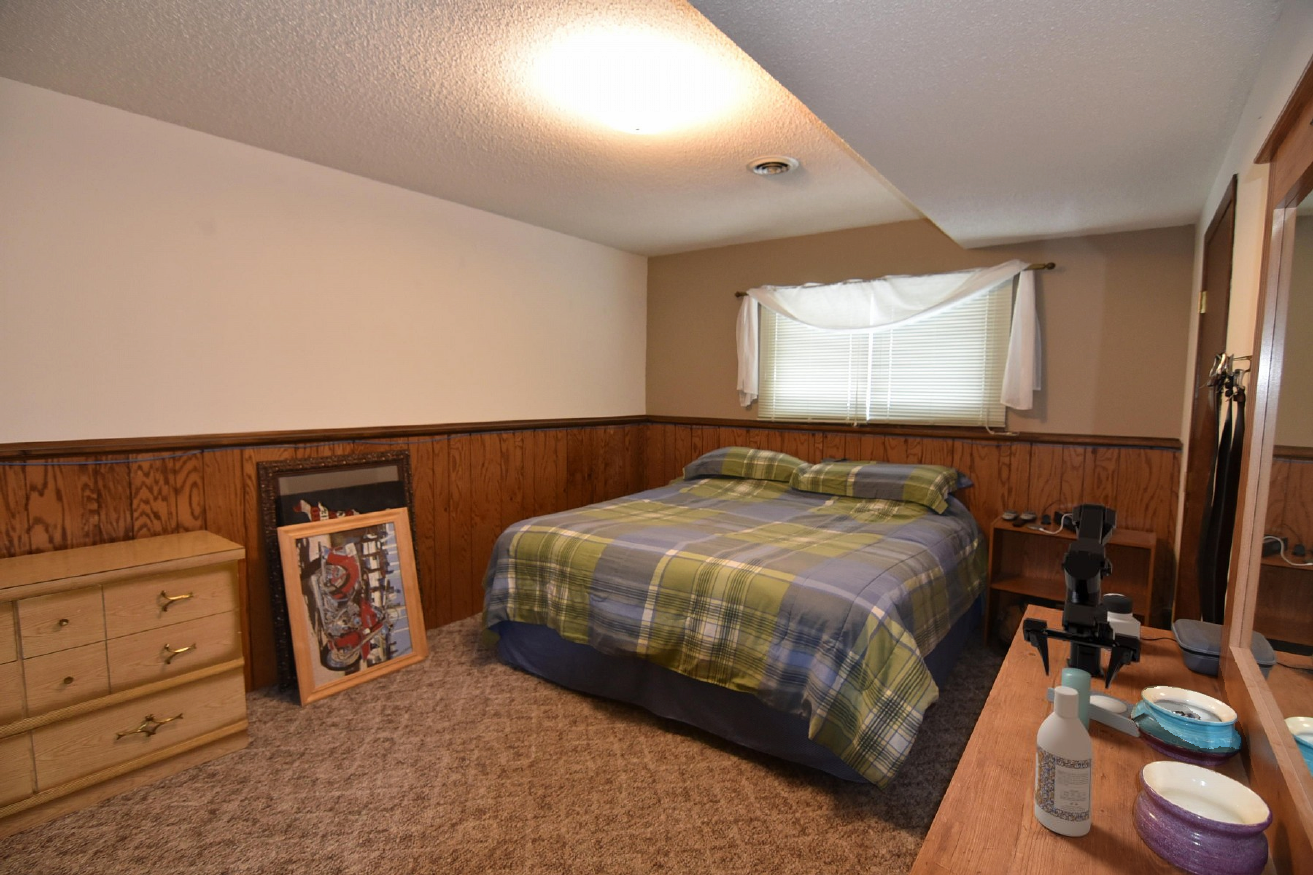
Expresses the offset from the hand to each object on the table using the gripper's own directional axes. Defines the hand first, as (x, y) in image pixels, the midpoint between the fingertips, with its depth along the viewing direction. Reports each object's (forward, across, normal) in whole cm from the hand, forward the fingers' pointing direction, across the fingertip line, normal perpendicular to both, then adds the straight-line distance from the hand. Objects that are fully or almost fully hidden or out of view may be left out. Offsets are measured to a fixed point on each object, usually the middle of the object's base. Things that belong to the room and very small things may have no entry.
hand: (1076, 681), depth 120 cm
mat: (-1, +4, +13) cm, 14 cm away
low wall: (+2, +2, +9) cm, 10 cm away
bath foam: (+29, 0, -16) cm, 33 cm away
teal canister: (+6, 0, +6) cm, 8 cm away
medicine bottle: (-27, +5, +39) cm, 48 cm away
